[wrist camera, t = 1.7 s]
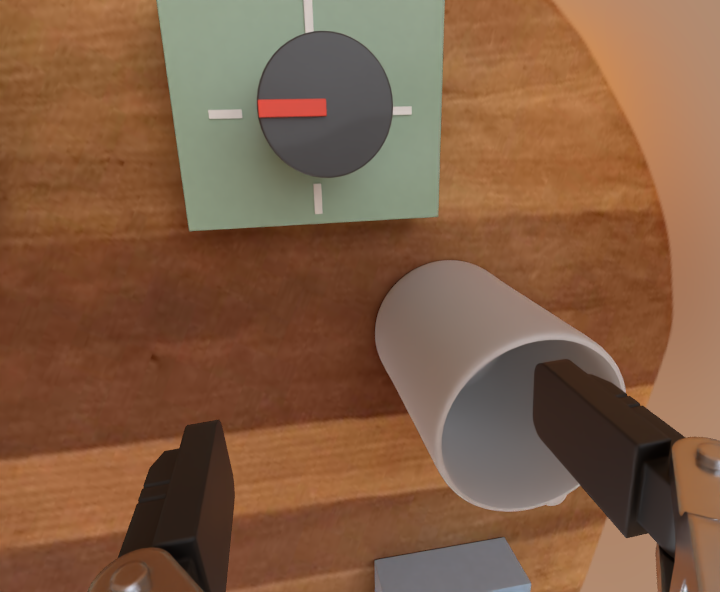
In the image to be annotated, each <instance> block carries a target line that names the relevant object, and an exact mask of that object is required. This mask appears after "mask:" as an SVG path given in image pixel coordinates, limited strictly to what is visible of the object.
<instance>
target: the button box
mask: <svg viewBox="0 0 720 592" xmlns="http://www.w3.org/2000/svg"><path fill="white" fill-rule="evenodd" d="M374 562H375V592H530V590H531V582H530V580H529V578H528V577H527V575H526V573H525V572H524V570H523V568H522V567H521V565H520V563H519V561H518V560H517V558H516V556H515V555H514V553H513V551H512V550H511V548H510V546H509V544H508V543H507V541H506V539H505V538H504V537H502V538H497V539H491V540H485V541H480V542H474V543H468V544H463V545H457V546H451V547H446V548H440V549H434V550H429V551H423V552H417V553H412V554H406V555H400V556H395V557H389V558H384V559H378V560H375V561H374Z"/></svg>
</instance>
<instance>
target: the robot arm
mask: <svg viewBox="0 0 720 592" xmlns="http://www.w3.org/2000/svg"><path fill="white" fill-rule="evenodd" d="M533 423H534V426H535V429H536V432H537V434H538V436H539V438H540V439H541V440H542V441H543V443H544V444H545V445H546V446H547V447H548V448H549V450H550V451H551V452H552V453H553V454H554V455H555V457H556V458H557V459H558V460H559V461H560V462H561V463H562V465H563V466H564V467H565V468H566V469H567V470H568V472H569V473H570V474H571V475H572V476H573V477H574V478H575V480H576V481H577V482H578V483H579V484H580V485H581V487H582V488H583V489H584V490H585V491H586V492H587V493H588V495H589V496H590V497H591V498H592V499H593V500H594V502H595V503H596V504H597V505H598V506H599V507H600V509H601V510H602V511H603V512H604V513H605V514H606V515H607V517H608V518H609V519H610V520H611V521H612V522H613V523H614V525H615V526H616V527H617V528H618V529H619V530H620V532H621V533H622V534H623V535H624V536H625V537H626V538H629V537H634V536H638V535H642V534H647V533H649V534H650V536H651V537H652V538H653V539H654V540H655V541H656V542H657V546H656V569H657V588H658V592H720V441H719V440H716V439H711V438H704V437H688V438H685V437H684V436H683V435H681V434H680V433H679V432H677V431H676V430H675V429H673V428H672V427H670V426H669V425H668V424H666V423H665V422H664V421H662V420H661V419H660V418H658V417H657V416H656V415H654V414H653V413H651V412H650V411H649V410H648V409H646V408H645V407H644V406H640V403H638V402H637V401H636V400H634V399H633V398H632V397H630V396H627V394H626V393H625V392H624V391H622V390H621V389H620V388H618V387H617V386H616V385H614V384H613V383H612V382H609V381H607V380H605V379H602V378H600V377H597V376H595V375H593V374H587V373H586V372H585V371H583V370H582V369H581V368H579V367H578V366H577V365H576V364H574V363H573V362H572V361H570V360H569V359H561V360H555V361H550V362H544V363H539V364H537V365H536V367H535V370H534V390H533ZM234 499H235V492H234V480H233V473H232V468H231V464H230V460H229V455H228V451H227V446H226V442H225V437H224V433H223V428H222V425H221V422H220V421H219V420H214V421H208V422H203V423H197V424H191V425H187V426H186V427H185V430H184V434H183V437H182V441H181V445H180V448H179V449H174V450H168V451H164V452H163V454H162V455H161V456H160V457H159V458H158V459H157V460H156V461H155V463H154V464H153V465H152V466H151V467H150V469H149V472H148V474H147V477H146V480H145V483H144V489H142V491H141V494H140V497H139V500H138V501H139V504H137V505H136V508H135V511H134V514H133V517H132V520H131V522H130V525H129V528H128V531H127V534H126V536H125V539H124V542H123V545H122V548H121V551H120V553H119V556H118V558H117V559H116V560H114V561H113V562H112V563H110V564H109V565H108V566H106V567H105V568H104V569H103V570H102V571H101V572H100V573H99V574H98V575H97V577H96V578H95V579H94V581H93V582H92V583H91V585H90V587H89V589H88V591H87V592H226V582H227V572H228V562H229V551H230V541H231V531H232V520H233V510H234Z"/></svg>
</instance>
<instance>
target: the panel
mask: <svg viewBox="0 0 720 592" xmlns="http://www.w3.org/2000/svg"><path fill="white" fill-rule="evenodd" d="M156 1H157V8H158V15H159V22H160V30H161V37H162V44H163V51H164V58H165V65H166V72H167V79H168V86H169V93H170V100H171V107H172V114H173V121H174V128H175V135H176V142H177V149H178V157H179V164H180V171H181V178H182V185H183V192H184V199H185V206H186V213H187V220H188V227H189V231H202V230H219V229H236V228H254V227H271V226H288V225H306V224H323V223H340V222H358V221H375V220H392V219H410V218H427V217H438V208H439V174H440V141H441V107H442V73H443V40H444V6H445V0H156ZM313 31H333V32H337V33H341V34H344V35H347V36H349V37H351V38H353V39H355V40H357V41H359V42H360V43H361V44H363V45H364V46H365V47H367V48H368V49H369V50H370V51H371V52H372V53H373V54H374V56H375V57H376V58H377V59H378V61H379V62H380V64H381V65H382V67H383V69H384V71H385V73H386V75H387V77H388V80H389V83H390V86H391V91H392V97H393V117H392V122H391V127H390V130H389V133H388V136H387V138H386V140H385V142H384V144H383V146H382V147H381V149H380V150H379V152H378V153H377V154H376V155H375V157H374V158H373V159H372V160H371V161H369V162H368V163H367V164H366V165H364V166H363V167H362V168H360V169H358V170H357V171H355V172H353V173H350V174H348V175H344V176H340V177H334V178H319V177H313V176H310V175H306V174H303V173H301V172H299V171H297V170H295V169H293V168H292V167H290V166H289V165H287V164H286V163H285V162H284V161H282V160H281V159H280V158H279V157H278V156H277V155H276V154H275V152H274V151H273V150H272V148H271V147H270V146H269V144H268V142H267V140H266V139H265V137H264V134H263V132H262V130H261V127H260V123H259V120H258V113H257V90H258V85H259V81H260V78H261V75H262V72H263V70H264V68H265V66H266V64H267V62H268V61H269V60H270V58H271V57H272V55H273V54H274V53H275V52H276V51H277V50H278V49H279V48H280V47H281V46H282V45H284V44H285V43H286V42H287V41H289V40H291V39H293V38H294V37H296V36H299V35H302V34H304V33H308V32H313Z"/></svg>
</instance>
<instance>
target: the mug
mask: <svg viewBox="0 0 720 592" xmlns="http://www.w3.org/2000/svg"><path fill="white" fill-rule="evenodd" d="M375 342H376V348H377V351H378V354H379V357H380V359H381V361H382V363H383V365H384V367H385V369H386V371H387V373H388V375H389V376H390V378H391V380H392V382H393V384H394V385H395V387H396V389H397V391H398V393H399V395H400V397H401V399H402V401H403V403H404V405H405V407H406V409H407V411H408V413H409V415H410V416H411V418H412V420H413V422H414V424H415V426H416V428H417V430H418V432H419V434H420V436H421V438H422V440H423V442H424V444H425V446H426V448H427V450H428V452H429V454H430V456H431V458H432V460H433V462H434V464H435V466H436V468H437V469H438V471H439V473H440V475H441V476H442V478H443V479H444V480H445V482H446V483H447V485H448V486H449V487H450V488H451V489H452V490H453V491H454V492H455V493H456V494H457V495H459V496H460V497H462V498H463V499H464V500H466V501H468V502H470V503H472V504H474V505H476V506H479V507H482V508H485V509H489V510H495V511H507V512H510V511H522V510H528V509H533V508H536V507H540V506H543V505H548V506H555V505H557V504H560V503H561V502H562V501H563V500H564V499H565V497H566V495H567V494H568V493H570V492H572V491H573V490H575V489H576V488H578V487H579V486H580V484H579V483H578V482H577V481H576V480H575V478H574V477H573V476H572V475H571V474H570V473H569V472H568V470H567V469H566V468H565V467H564V466H563V465H562V463H561V462H560V461H559V460H558V459H557V458H556V457H555V455H554V454H553V453H552V452H551V451H550V450H549V448H548V447H547V446H546V445H545V444H544V443H543V441H542V440H541V439H540V438H539V436H538V434H537V432H536V429H535V426H534V423H533V390H534V370H535V367H536V365H537V364H539V363H544V362H550V361H555V360H561V359H569V360H570V361H572V362H573V363H574V364H576V365H577V366H578V367H579V368H581V369H582V370H583V371H585V372H586V373H587V374H593V375H595V376H597V377H600V378H602V379H605V380H607V381H609V382H612V383H613V384H614V385H616V386H617V387H618V388H620V389H621V390H622V391H624V392H625V393H626V390H625V385H624V381H623V377H622V375H621V373H620V370H619V368H618V366H617V365H616V363H615V362H614V360H613V359H612V357H611V356H610V355H609V354H608V353H607V352H606V351H605V350H604V349H603V348H602V347H601V346H600V345H598V344H597V343H596V342H594V341H593V340H591V339H590V338H589V337H587V336H586V335H584V334H583V333H581V332H580V331H578V330H576V329H575V328H573V327H572V326H570V325H569V324H567V323H566V322H564V321H562V320H561V319H559V318H558V317H556V316H555V315H553V314H552V313H550V312H548V311H547V310H545V309H544V308H542V307H541V306H539V305H537V304H536V303H534V302H533V301H531V300H530V299H528V298H527V297H525V296H523V295H522V294H520V293H519V292H517V291H516V290H514V289H513V288H511V287H509V286H508V285H506V284H505V283H503V282H502V281H501V280H499V279H498V278H496V277H495V276H494V275H492V274H491V273H489V272H488V271H486V270H484V269H482V268H481V267H479V266H477V265H474V264H471V263H468V262H464V261H457V260H443V261H436V262H431V263H428V264H425V265H423V266H420V267H418V268H416V269H414V270H412V271H411V272H409V273H408V274H406V275H405V276H404V277H403V278H401V279H400V280H399V281H398V282H397V283H396V284H395V285H394V286H393V287H392V288H391V290H390V291H389V292H388V294H387V295H386V297H385V299H384V300H383V302H382V304H381V307H380V309H379V312H378V315H377V319H376V326H375Z"/></svg>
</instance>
